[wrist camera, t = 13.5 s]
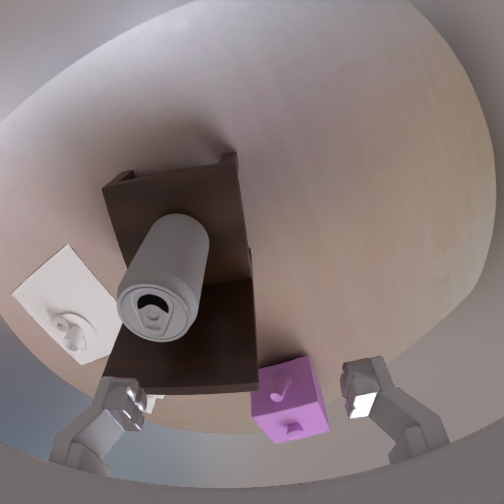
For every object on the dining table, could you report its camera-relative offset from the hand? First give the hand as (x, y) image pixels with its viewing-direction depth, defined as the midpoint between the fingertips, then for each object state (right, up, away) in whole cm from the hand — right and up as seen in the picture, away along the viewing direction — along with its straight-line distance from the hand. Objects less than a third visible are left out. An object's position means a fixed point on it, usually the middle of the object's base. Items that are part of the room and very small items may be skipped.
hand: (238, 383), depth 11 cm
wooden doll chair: (-7, +9, +26) cm, 28 cm away
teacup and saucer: (-29, -6, +33) cm, 45 cm away
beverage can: (-7, +6, +21) cm, 23 cm away
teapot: (+6, -16, +41) cm, 44 cm away
